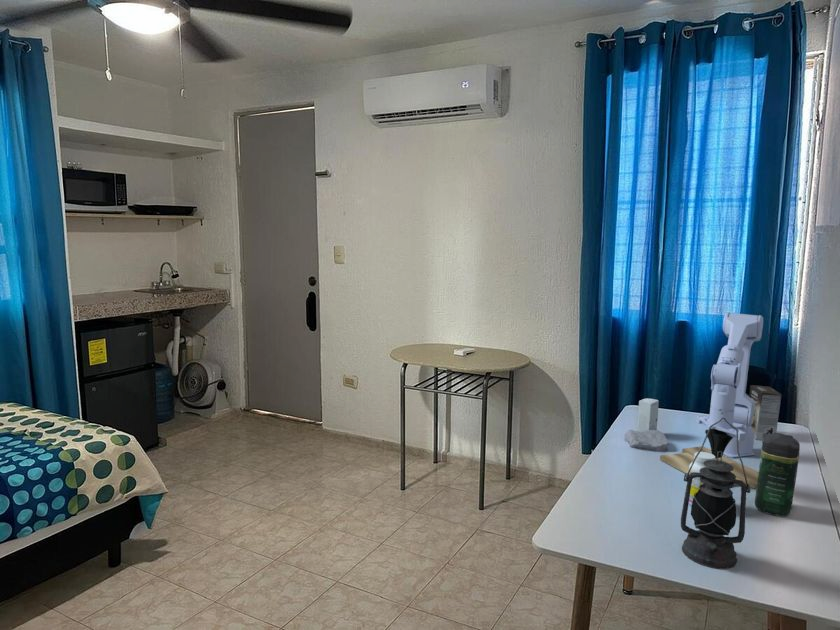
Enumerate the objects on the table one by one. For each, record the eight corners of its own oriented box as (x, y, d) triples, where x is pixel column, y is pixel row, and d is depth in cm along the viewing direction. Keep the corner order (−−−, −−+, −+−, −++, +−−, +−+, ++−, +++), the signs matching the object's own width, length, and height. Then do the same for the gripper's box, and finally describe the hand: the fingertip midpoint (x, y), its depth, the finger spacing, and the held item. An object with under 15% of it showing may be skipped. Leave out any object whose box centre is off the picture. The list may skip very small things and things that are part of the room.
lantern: (676, 559, 124) (690, 420, 119) (677, 535, 133) (690, 406, 129) (744, 575, 119) (761, 430, 114) (739, 549, 129) (755, 415, 124)
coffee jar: (790, 521, 142) (800, 446, 139) (752, 511, 146) (761, 438, 143) (793, 505, 150) (802, 434, 147) (757, 496, 154) (765, 427, 151)
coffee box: (744, 430, 205) (749, 384, 202) (764, 431, 204) (769, 385, 201) (755, 439, 196) (760, 392, 193) (776, 441, 195) (782, 393, 192)
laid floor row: (702, 449, 186) (703, 446, 185) (776, 485, 161) (777, 480, 161) (682, 452, 183) (682, 448, 183) (754, 488, 159) (754, 484, 159)
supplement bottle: (713, 500, 151) (718, 452, 149) (716, 512, 145) (722, 462, 143) (684, 496, 153) (689, 448, 151) (686, 507, 147) (691, 457, 145)
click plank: (686, 456, 180) (687, 452, 180) (741, 484, 161) (742, 480, 161) (659, 459, 177) (660, 455, 176) (712, 488, 158) (713, 483, 158)
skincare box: (648, 440, 193) (651, 403, 191) (635, 436, 196) (638, 400, 194) (657, 435, 197) (660, 400, 195) (643, 432, 200) (646, 397, 198)
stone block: (670, 457, 184) (660, 440, 193) (672, 444, 182) (662, 427, 192) (630, 456, 185) (622, 439, 194) (632, 443, 183) (624, 426, 192)
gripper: (689, 401, 164) (685, 448, 166) (732, 418, 151) (727, 469, 153) (710, 399, 166) (705, 446, 169) (754, 415, 153) (748, 466, 155)
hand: (717, 456), depth 161 cm, fingers closed
